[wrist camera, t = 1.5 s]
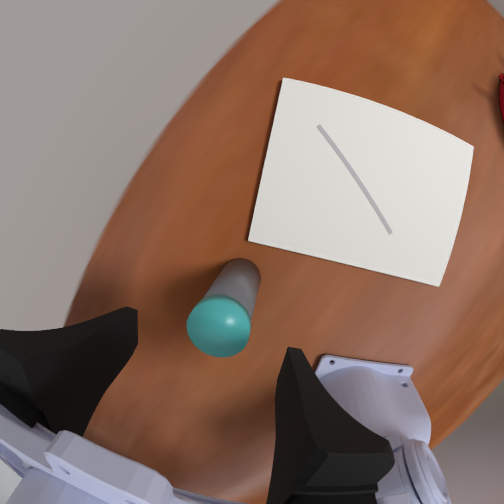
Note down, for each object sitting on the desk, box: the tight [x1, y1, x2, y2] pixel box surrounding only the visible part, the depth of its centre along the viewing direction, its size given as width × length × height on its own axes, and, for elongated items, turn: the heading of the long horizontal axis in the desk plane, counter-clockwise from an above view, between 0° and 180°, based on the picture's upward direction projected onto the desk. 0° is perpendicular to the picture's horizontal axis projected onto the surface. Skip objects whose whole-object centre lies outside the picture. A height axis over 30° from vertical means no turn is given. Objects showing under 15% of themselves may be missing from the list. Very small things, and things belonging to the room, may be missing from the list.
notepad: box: [248, 78, 474, 287], centre depth 18 cm, size 16×12×1 cm
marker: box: [187, 258, 261, 357], centre depth 18 cm, size 3×3×8 cm
